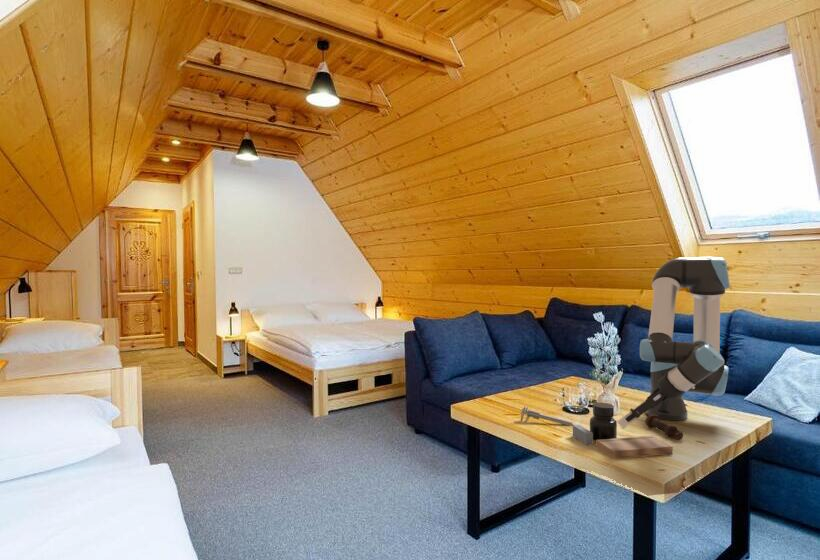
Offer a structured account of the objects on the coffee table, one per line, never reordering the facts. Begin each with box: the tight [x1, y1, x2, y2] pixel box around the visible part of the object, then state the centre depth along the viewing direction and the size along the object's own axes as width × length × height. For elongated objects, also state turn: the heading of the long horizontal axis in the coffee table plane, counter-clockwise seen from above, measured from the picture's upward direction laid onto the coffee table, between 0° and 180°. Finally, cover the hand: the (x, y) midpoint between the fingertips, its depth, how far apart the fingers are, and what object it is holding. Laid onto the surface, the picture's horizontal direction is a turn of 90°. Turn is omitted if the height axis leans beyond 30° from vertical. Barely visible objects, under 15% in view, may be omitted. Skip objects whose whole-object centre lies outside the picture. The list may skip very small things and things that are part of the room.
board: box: [595, 435, 674, 460], centre depth 158 cm, size 21×10×2 cm, turn 100°
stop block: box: [572, 424, 594, 446], centre depth 167 cm, size 2×9×4 cm, turn 10°
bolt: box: [645, 414, 684, 441], centre depth 173 cm, size 6×5×15 cm
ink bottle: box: [589, 402, 618, 442], centre depth 169 cm, size 10×9×12 cm
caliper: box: [520, 406, 576, 426], centre depth 186 cm, size 20×1×6 cm, turn 73°
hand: (626, 419), depth 163 cm, fingers open, 13 cm apart
